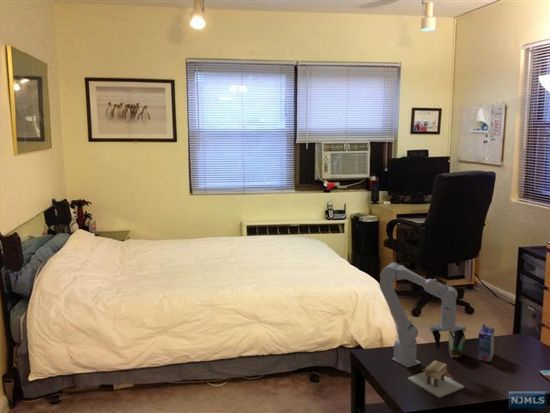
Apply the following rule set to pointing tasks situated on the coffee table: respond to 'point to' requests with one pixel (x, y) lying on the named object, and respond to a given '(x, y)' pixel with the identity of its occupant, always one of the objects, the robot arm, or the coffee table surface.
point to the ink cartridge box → (486, 344)
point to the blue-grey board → (442, 388)
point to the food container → (454, 351)
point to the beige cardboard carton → (435, 372)
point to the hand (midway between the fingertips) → (446, 347)
